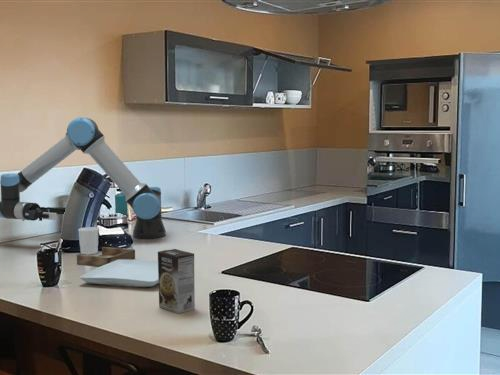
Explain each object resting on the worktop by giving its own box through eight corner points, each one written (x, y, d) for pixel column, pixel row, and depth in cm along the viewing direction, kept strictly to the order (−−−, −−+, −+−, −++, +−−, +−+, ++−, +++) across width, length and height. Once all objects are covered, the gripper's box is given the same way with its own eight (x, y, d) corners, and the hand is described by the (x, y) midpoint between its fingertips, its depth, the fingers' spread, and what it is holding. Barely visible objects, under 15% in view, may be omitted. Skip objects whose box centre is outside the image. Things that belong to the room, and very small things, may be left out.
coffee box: (158, 307, 169) (156, 251, 168) (176, 302, 174) (174, 248, 172) (177, 314, 163) (176, 256, 161) (196, 309, 167) (194, 252, 166)
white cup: (102, 251, 247) (101, 227, 246) (95, 255, 239) (94, 230, 238) (83, 250, 248) (82, 227, 246) (76, 255, 240) (75, 230, 239)
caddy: (77, 264, 223) (76, 255, 223) (103, 255, 238) (103, 246, 238) (109, 267, 217) (109, 258, 217) (135, 258, 232) (134, 249, 232)
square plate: (187, 271, 212) (187, 261, 211) (154, 292, 186) (154, 280, 185) (118, 267, 219) (118, 257, 219) (78, 287, 193) (77, 275, 192)
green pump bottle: (126, 226, 308) (125, 187, 306) (114, 226, 308) (112, 187, 306) (129, 224, 314) (128, 186, 312) (117, 224, 315) (115, 186, 312)
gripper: (49, 216, 266) (87, 219, 257) (5, 224, 243) (46, 228, 235) (48, 199, 265) (87, 201, 256) (5, 206, 242) (45, 209, 234)
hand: (67, 214), depth 245 cm, fingers open, 13 cm apart
